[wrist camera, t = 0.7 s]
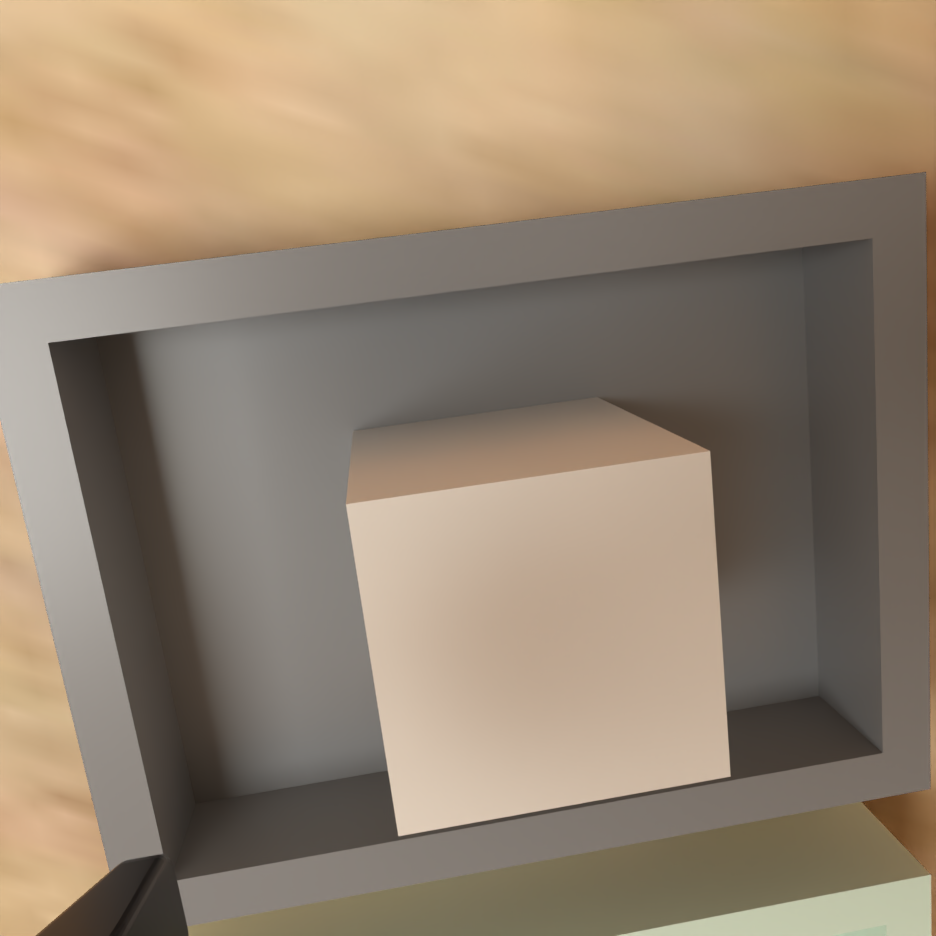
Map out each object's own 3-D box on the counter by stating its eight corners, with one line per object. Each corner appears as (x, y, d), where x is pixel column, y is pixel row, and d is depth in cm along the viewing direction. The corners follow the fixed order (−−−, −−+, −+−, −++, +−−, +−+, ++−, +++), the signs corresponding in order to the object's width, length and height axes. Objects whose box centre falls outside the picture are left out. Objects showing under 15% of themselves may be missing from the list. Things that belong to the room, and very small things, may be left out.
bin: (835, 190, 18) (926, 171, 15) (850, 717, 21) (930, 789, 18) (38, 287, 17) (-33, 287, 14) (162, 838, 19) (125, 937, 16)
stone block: (596, 397, 18) (710, 451, 12) (617, 624, 19) (730, 776, 13) (353, 430, 17) (345, 504, 11) (388, 662, 18) (398, 836, 13)
